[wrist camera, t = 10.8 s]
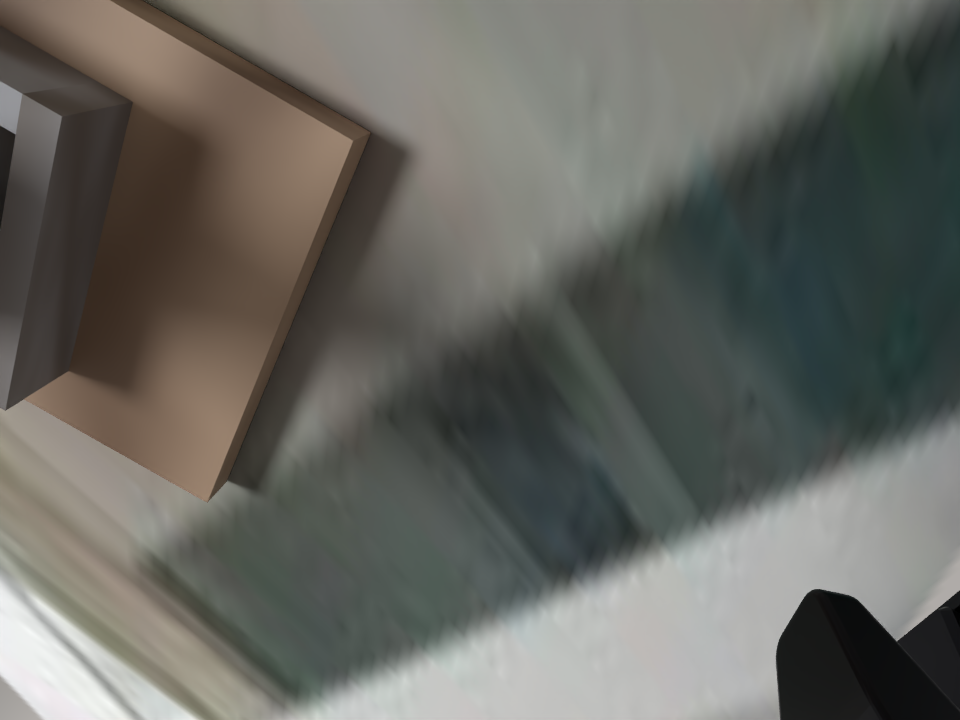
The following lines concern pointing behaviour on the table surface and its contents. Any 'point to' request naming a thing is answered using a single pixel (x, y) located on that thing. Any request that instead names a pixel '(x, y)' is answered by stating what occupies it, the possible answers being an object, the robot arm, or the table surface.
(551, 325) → the table surface
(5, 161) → the peach-capped cylinder
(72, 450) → the table surface
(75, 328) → the jig board
